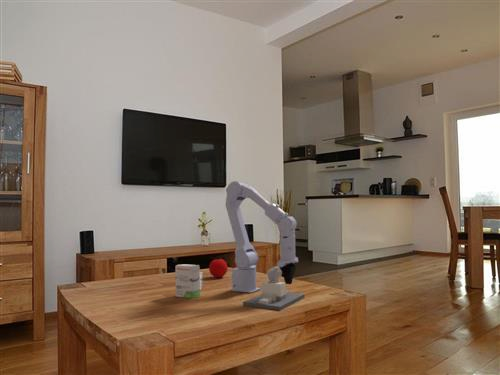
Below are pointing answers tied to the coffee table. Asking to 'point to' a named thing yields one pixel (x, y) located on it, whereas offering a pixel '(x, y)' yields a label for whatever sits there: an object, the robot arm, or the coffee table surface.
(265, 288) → the block
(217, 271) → the ornament
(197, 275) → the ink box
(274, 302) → the rail board
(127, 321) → the coffee table surface
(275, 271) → the grey sculpted head
